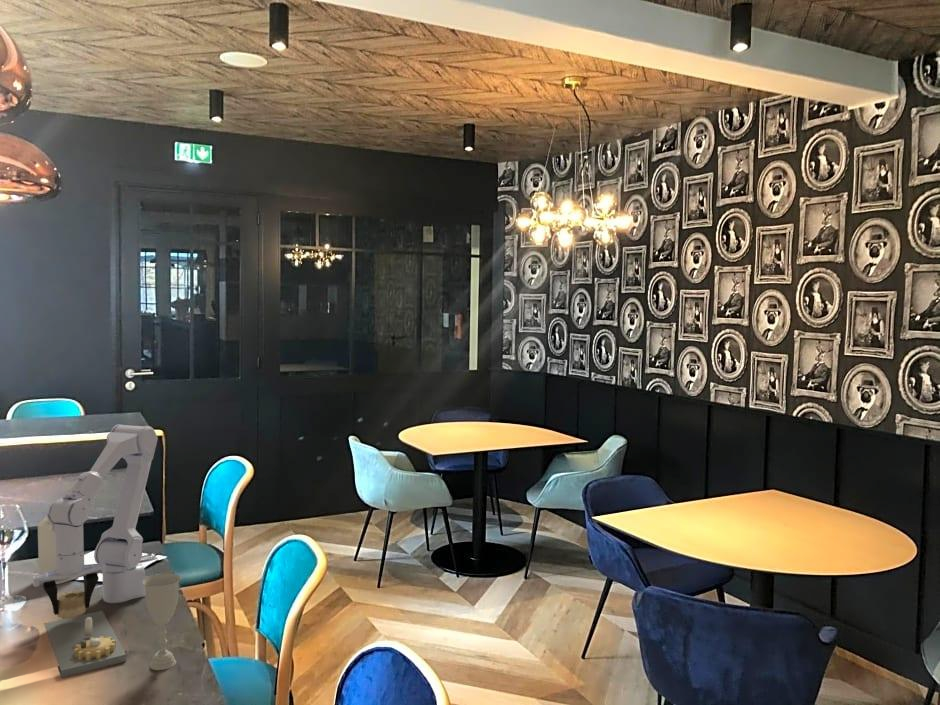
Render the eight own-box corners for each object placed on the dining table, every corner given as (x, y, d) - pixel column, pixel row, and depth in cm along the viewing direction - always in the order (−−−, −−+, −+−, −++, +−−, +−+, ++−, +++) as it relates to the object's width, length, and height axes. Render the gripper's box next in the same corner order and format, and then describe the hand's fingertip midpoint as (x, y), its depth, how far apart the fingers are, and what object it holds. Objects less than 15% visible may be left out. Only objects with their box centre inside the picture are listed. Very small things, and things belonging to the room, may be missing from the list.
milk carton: (66, 572, 203) (64, 504, 202) (79, 578, 199) (77, 509, 198) (38, 580, 198) (36, 510, 196) (51, 586, 194) (49, 515, 192)
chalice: (145, 675, 150) (143, 588, 148) (142, 660, 156) (141, 577, 154) (183, 667, 153) (182, 582, 152) (180, 653, 159) (178, 571, 158)
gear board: (102, 616, 176) (101, 591, 176) (126, 661, 155) (125, 633, 155) (44, 629, 169) (43, 603, 169) (61, 677, 148) (60, 648, 148)
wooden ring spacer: (83, 605, 173) (82, 588, 173) (87, 614, 168) (86, 597, 168) (55, 611, 170) (55, 594, 169) (59, 620, 165) (58, 602, 165)
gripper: (34, 563, 160) (36, 624, 161) (108, 550, 169) (109, 608, 170) (31, 553, 166) (33, 612, 167) (102, 541, 175) (103, 597, 176)
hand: (71, 609), depth 169 cm, fingers closed on wooden ring spacer, 6 cm apart
